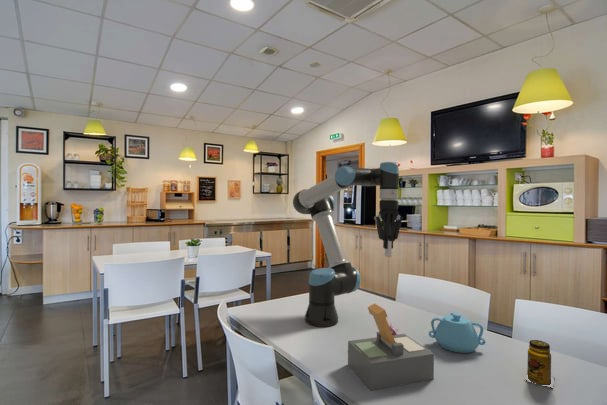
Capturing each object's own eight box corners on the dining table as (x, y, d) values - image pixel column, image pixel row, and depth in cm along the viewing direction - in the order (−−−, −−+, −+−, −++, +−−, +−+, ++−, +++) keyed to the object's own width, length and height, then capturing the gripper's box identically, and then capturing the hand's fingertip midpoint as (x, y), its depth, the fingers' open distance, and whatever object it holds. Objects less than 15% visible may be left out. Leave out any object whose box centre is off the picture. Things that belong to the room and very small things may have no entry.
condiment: (524, 381, 105) (524, 343, 104) (527, 370, 111) (528, 334, 111) (553, 390, 100) (554, 350, 100) (555, 378, 106) (556, 341, 106)
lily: (395, 355, 123) (408, 332, 123) (368, 335, 130) (381, 313, 130) (403, 353, 133) (415, 332, 133) (378, 334, 140) (389, 314, 140)
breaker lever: (388, 339, 113) (374, 303, 111) (400, 348, 107) (385, 310, 105) (381, 343, 113) (367, 307, 111) (393, 352, 106) (377, 314, 104)
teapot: (428, 351, 124) (429, 317, 124) (428, 331, 143) (428, 301, 143) (488, 360, 118) (489, 325, 117) (480, 338, 136) (480, 307, 136)
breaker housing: (403, 355, 121) (404, 325, 120) (433, 379, 105) (434, 344, 105) (347, 364, 114) (348, 332, 114) (370, 390, 99) (371, 353, 99)
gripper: (379, 199, 133) (378, 258, 134) (407, 199, 137) (406, 257, 138) (370, 199, 141) (369, 255, 141) (397, 199, 145) (396, 254, 145)
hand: (388, 256), depth 139 cm, fingers closed
